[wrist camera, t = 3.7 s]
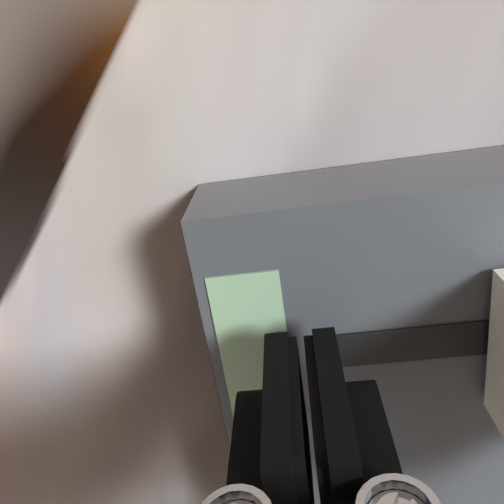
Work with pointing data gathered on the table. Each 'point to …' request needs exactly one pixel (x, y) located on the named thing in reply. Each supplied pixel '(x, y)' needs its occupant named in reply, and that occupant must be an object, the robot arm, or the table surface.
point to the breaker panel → (366, 295)
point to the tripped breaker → (496, 353)
